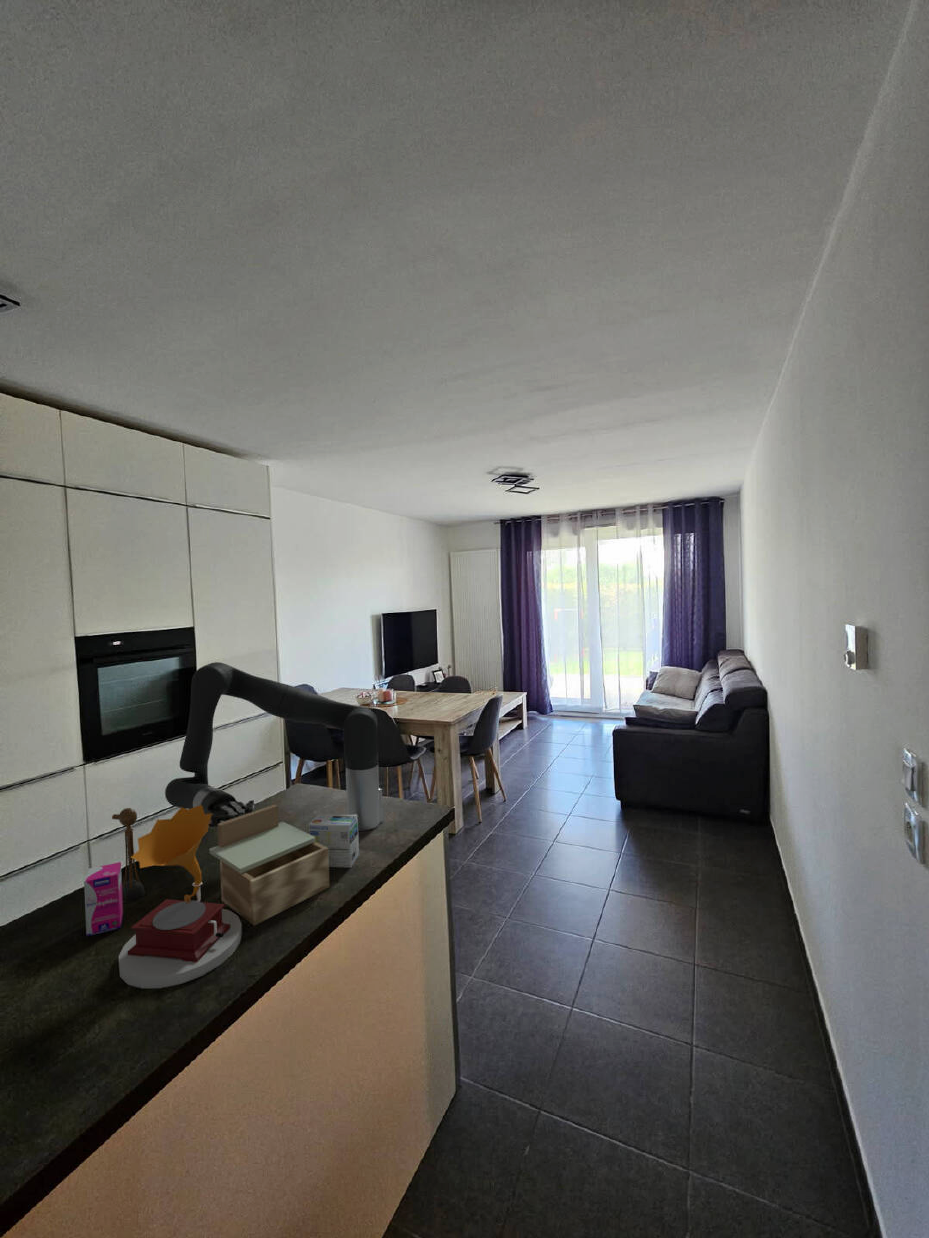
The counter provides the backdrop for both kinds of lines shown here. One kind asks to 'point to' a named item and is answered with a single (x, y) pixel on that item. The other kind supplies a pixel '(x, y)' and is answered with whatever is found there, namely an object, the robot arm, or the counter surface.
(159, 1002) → the counter surface
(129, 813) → the wooden tabletop sculpture
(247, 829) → the sliding lid
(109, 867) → the supplement box
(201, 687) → the robot arm
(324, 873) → the wooden box
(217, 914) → the gramophone
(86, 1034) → the counter surface
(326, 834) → the light bulb box
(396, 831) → the counter surface
